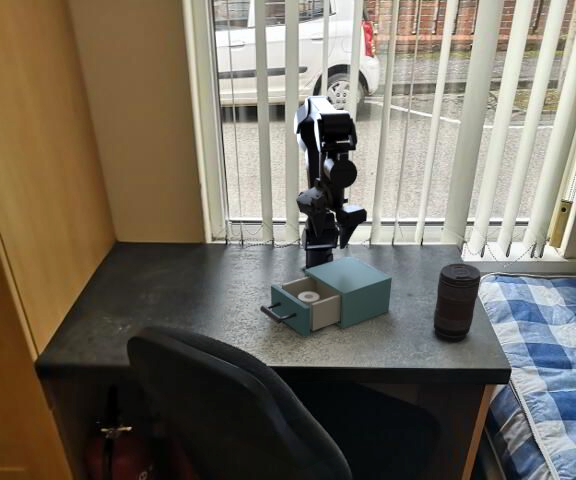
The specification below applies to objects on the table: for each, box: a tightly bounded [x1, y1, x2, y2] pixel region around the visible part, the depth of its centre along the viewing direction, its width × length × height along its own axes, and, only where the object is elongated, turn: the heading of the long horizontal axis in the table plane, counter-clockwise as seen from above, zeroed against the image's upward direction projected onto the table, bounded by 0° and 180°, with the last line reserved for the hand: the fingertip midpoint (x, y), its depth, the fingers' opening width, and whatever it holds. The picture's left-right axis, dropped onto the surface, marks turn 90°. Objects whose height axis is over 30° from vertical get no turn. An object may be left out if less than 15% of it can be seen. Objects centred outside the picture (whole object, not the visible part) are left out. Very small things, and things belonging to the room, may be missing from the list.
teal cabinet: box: [304, 255, 393, 329], centre depth 132 cm, size 14×15×9 cm
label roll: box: [298, 292, 320, 318], centre depth 127 cm, size 5×5×4 cm
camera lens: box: [433, 263, 482, 344], centre depth 119 cm, size 8×8×15 cm
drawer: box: [259, 276, 342, 338], centre depth 126 cm, size 17×13×7 cm
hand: (330, 242), depth 134 cm, fingers open, 9 cm apart
